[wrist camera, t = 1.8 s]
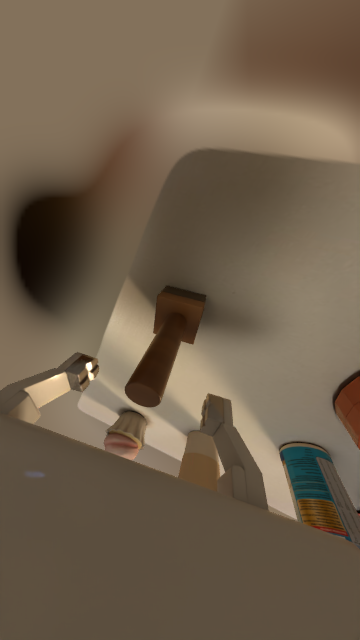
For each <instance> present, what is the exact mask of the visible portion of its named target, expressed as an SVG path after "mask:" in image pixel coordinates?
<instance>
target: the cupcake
mask: <svg viewBox="0 0 360 640" xmlns="http://www.w3.org/2000/svg"><path fill="white" fill-rule="evenodd" d="M145 430H146V420H145V418H144V417H142V416H141V415H140V414H138V413H135V412H131V411H126V412H124V413H123V414H122V415H121V416H120V418H119V419H118V420H117V421H116V422H115V423H114V425H112V426H111V427H110V428H108V429H107V430H106V433H107V435H106V436H107V437H106V438H105V440H104V445H105V451H107V452H110V453H113V454H116V455H118V456H121V457H124V458H126V459H129V460H133V459H134V458H135V457H136V456H137V454H138V451H139V449H141V450H142V449H143V447H144V445H145V443H144V435H145Z"/></svg>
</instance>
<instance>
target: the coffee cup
mask: <svg viewBox="0 0 360 640" xmlns="http://www.w3.org/2000/svg"><path fill="white" fill-rule="evenodd" d="M178 478H181V479H183V480H186V481H189V482H192V483H194V484H197V485H200V486H202V487H205V488H208V489H211V490H213V491H216V492H217V480H218V479H219V478H220V469H219V462H218V451H217V449H216V446H215V443H214V440H213V438H212V436H209V435H207V434H204V433H201V432H200V431H192V432H190V433H189V434H188V438H187V443H186V448H185V452H184V455H183V458H182V463H181V467H180V472H179V476H178Z"/></svg>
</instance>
